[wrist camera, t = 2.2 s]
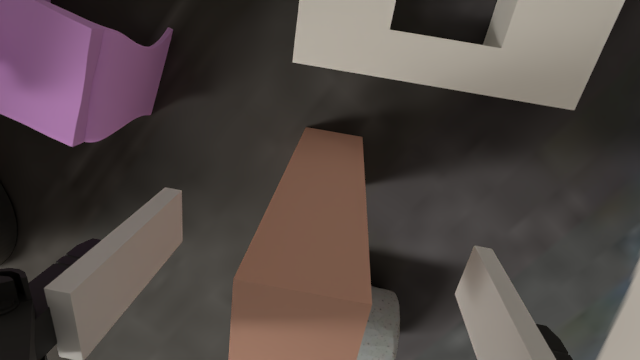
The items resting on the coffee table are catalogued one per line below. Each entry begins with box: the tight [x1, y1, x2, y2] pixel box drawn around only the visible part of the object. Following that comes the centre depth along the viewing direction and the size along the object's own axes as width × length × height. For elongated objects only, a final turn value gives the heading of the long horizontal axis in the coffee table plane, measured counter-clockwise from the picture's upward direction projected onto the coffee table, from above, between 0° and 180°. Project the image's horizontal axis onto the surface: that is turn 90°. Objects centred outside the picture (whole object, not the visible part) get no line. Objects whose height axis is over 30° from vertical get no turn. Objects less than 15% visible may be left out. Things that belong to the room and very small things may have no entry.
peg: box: [229, 127, 372, 360], centre depth 18 cm, size 4×4×16 cm
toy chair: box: [0, 0, 173, 147], centre depth 17 cm, size 8×9×15 cm
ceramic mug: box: [357, 286, 400, 360], centre depth 28 cm, size 11×8×8 cm
